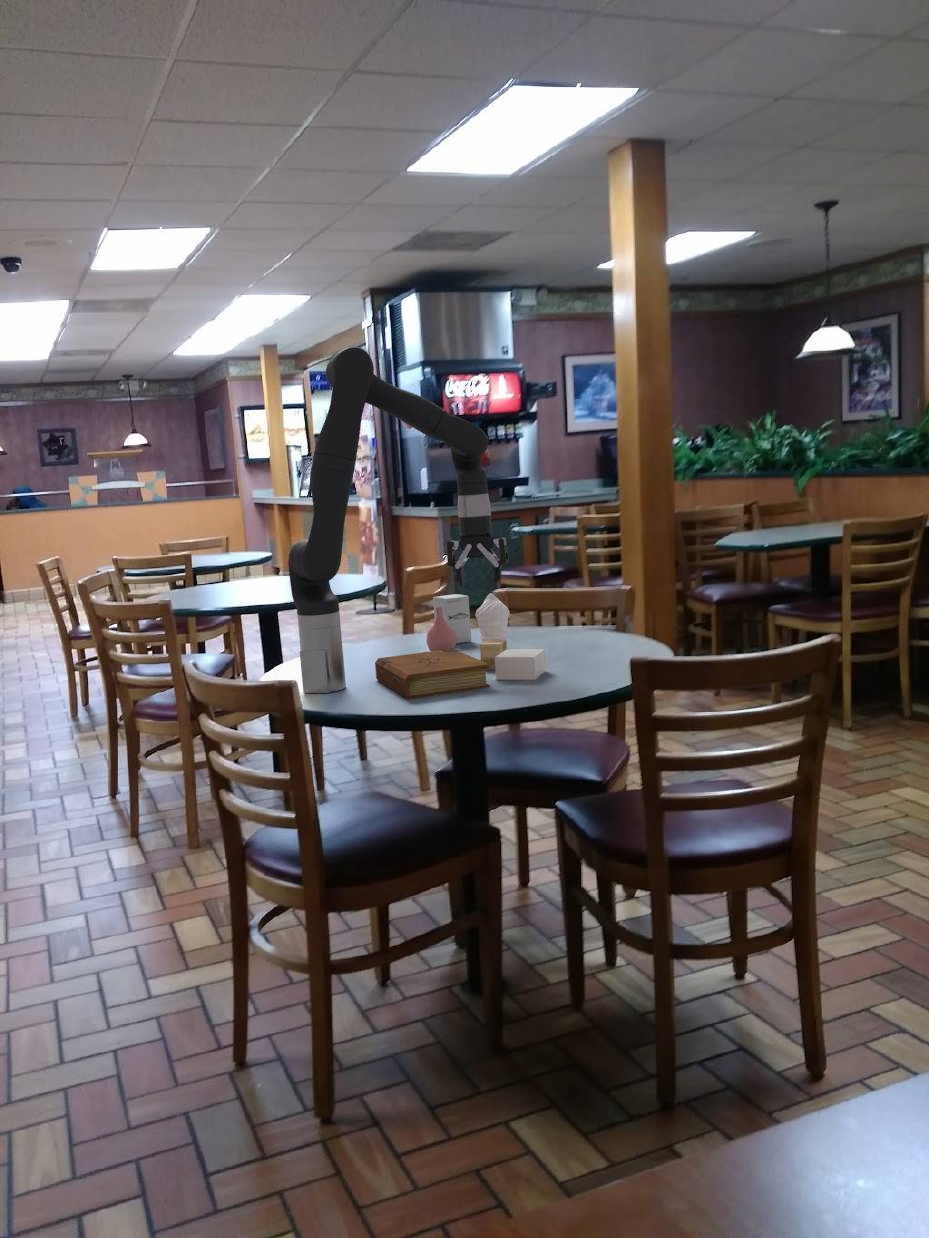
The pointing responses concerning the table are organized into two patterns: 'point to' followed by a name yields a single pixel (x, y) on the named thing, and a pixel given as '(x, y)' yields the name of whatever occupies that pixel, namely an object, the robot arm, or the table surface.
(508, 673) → the plinth
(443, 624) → the pink vase
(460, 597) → the supplement box
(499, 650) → the oak block
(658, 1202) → the table surface
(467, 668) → the diary
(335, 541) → the robot arm
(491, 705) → the table surface
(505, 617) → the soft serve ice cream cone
